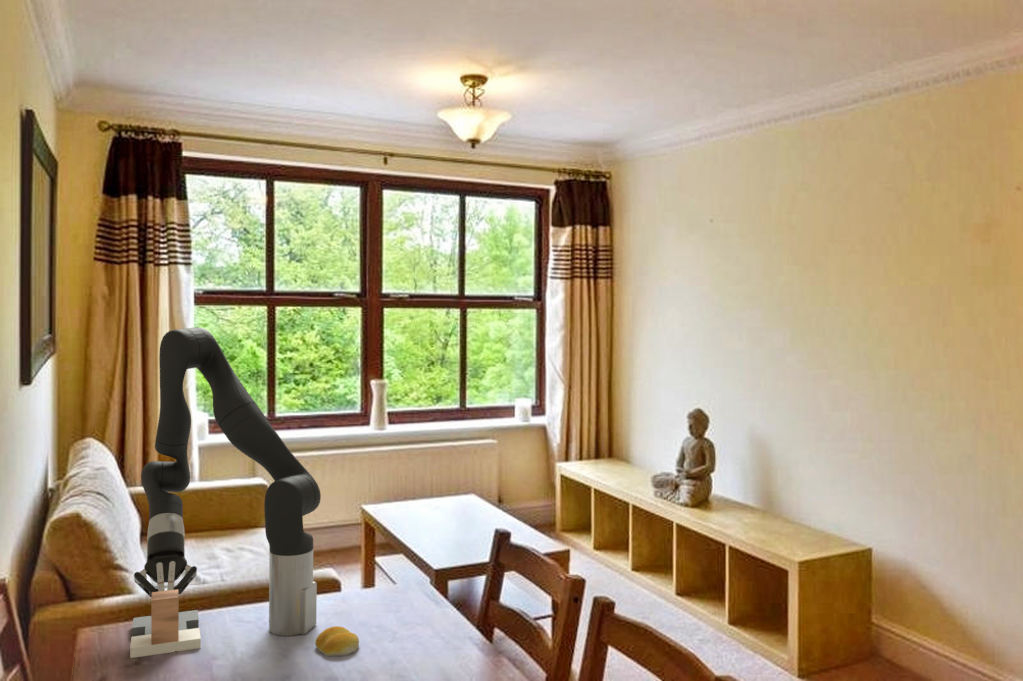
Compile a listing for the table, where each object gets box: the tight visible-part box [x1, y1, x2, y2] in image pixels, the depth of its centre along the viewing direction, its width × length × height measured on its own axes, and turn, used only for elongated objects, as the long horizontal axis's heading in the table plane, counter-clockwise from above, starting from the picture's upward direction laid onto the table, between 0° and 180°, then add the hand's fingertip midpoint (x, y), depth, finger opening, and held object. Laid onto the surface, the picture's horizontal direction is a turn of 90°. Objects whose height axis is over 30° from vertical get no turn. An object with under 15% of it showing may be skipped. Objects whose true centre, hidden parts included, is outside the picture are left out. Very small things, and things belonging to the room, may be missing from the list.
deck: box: [131, 609, 200, 637], centre depth 171 cm, size 11×13×2 cm
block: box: [150, 589, 180, 645], centre depth 163 cm, size 5×5×9 cm
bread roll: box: [315, 625, 360, 657], centre depth 164 cm, size 8×9×4 cm
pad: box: [129, 627, 202, 659], centre depth 163 cm, size 6×13×2 cm, turn 113°
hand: (165, 612), depth 166 cm, fingers closed
